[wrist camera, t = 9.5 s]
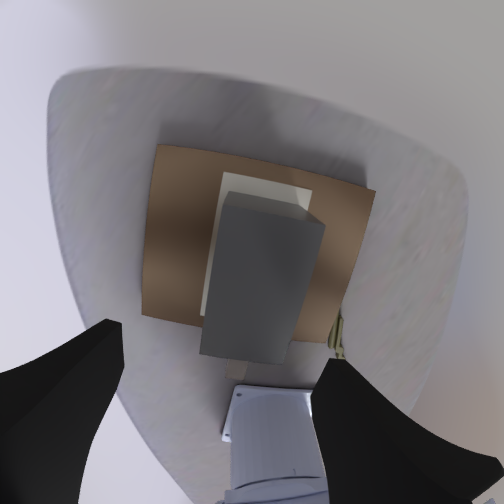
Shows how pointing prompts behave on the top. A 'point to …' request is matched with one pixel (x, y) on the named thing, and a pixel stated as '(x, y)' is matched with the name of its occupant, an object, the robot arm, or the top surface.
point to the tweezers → (336, 337)
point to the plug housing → (258, 280)
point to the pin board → (207, 223)
